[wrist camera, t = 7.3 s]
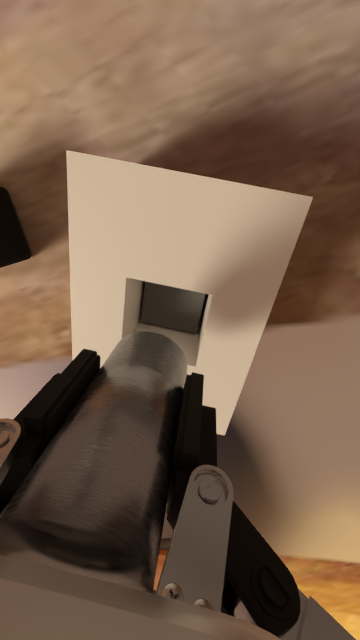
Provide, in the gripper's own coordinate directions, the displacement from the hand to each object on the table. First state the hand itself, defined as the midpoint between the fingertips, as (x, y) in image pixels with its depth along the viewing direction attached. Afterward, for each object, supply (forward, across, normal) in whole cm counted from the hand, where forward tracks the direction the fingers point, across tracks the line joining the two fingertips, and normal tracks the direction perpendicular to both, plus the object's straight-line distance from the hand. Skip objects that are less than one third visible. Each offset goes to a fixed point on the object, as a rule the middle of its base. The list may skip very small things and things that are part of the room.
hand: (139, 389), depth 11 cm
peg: (+2, 0, 0) cm, 2 cm away
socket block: (+16, 0, 0) cm, 16 cm away
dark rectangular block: (+12, 0, 0) cm, 12 cm away
